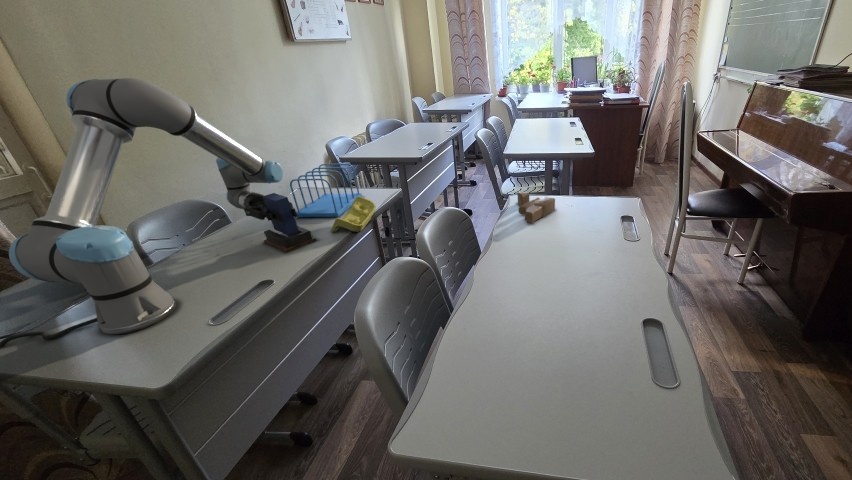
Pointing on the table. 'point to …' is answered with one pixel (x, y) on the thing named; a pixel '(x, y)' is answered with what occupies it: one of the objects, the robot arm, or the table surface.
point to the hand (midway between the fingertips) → (288, 215)
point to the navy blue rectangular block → (283, 207)
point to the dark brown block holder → (289, 239)
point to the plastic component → (356, 215)
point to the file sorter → (326, 196)
